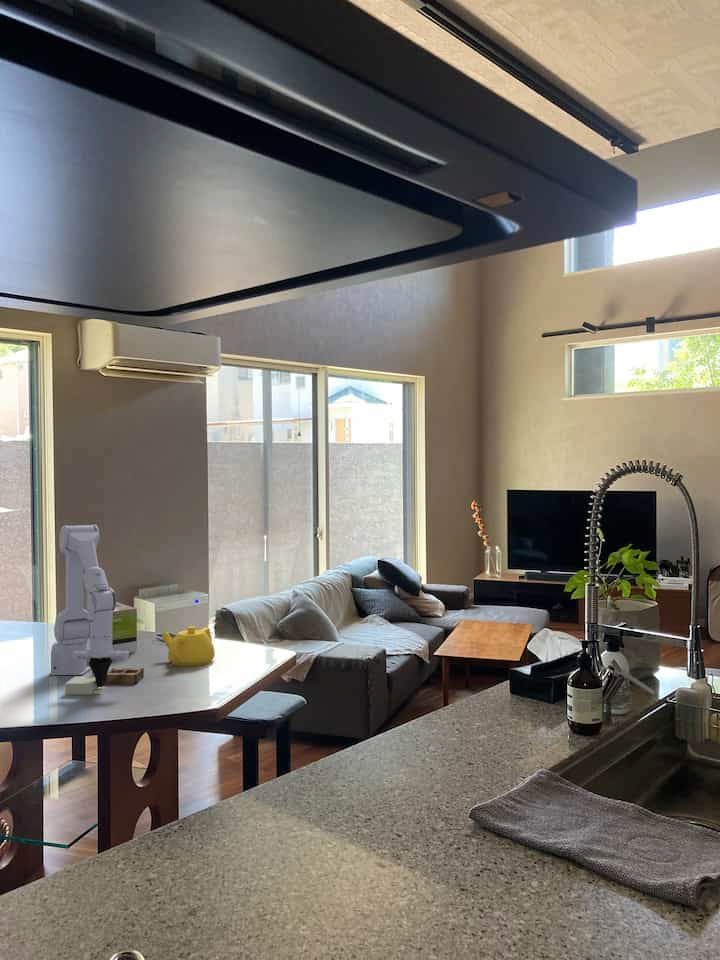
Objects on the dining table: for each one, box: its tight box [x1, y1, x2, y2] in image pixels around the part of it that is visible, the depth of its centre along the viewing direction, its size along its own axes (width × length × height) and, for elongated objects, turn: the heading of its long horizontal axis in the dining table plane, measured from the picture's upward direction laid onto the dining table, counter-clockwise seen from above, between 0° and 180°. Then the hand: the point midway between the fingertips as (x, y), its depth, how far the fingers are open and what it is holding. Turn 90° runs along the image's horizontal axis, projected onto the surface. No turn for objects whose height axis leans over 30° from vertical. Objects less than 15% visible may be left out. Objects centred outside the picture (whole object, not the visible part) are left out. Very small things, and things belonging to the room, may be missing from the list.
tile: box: [92, 686, 107, 695], centre depth 203 cm, size 5×5×1 cm
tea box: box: [112, 601, 138, 654], centre depth 250 cm, size 15×10×15 cm
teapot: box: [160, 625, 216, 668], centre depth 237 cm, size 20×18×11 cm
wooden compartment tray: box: [104, 667, 145, 685], centre depth 214 cm, size 9×7×2 cm
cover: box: [64, 675, 97, 696], centre depth 203 cm, size 7×7×3 cm
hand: (100, 686), depth 203 cm, fingers closed
